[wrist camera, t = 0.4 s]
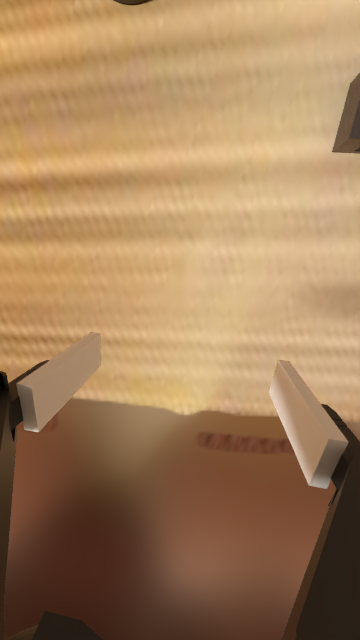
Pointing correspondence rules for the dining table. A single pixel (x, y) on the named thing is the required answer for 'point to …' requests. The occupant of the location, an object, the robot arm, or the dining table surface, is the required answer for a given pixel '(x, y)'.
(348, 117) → the rail
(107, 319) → the dining table surface
